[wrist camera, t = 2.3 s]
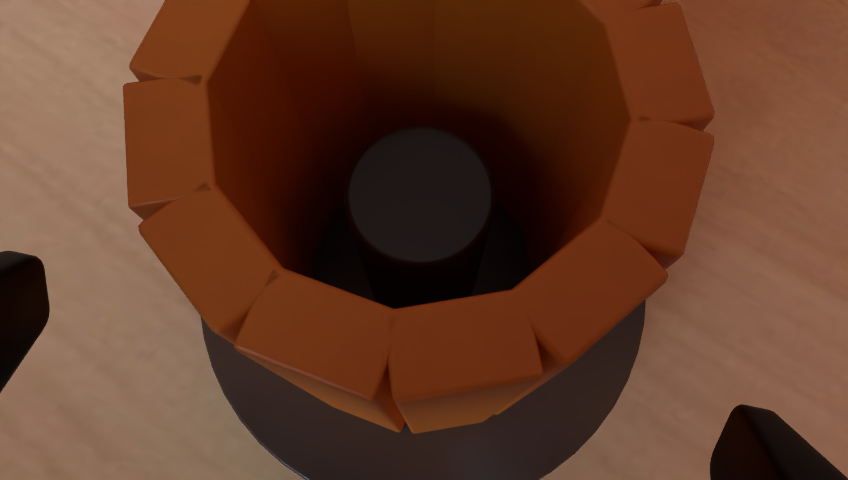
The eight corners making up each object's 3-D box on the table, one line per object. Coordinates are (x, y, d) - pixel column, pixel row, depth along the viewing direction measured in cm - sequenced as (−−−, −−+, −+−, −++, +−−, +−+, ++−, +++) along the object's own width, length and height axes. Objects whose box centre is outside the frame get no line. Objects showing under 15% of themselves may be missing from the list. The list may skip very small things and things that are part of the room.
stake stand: (540, 562, 18) (644, 656, 9) (181, 418, 19) (-25, 381, 10) (645, 210, 21) (801, 29, 12) (327, 103, 22) (261, -134, 13)
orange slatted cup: (518, 479, 15) (619, 498, 7) (219, 363, 15) (13, 263, 8) (611, 190, 16) (768, -45, 9) (340, 99, 17) (270, -191, 10)
